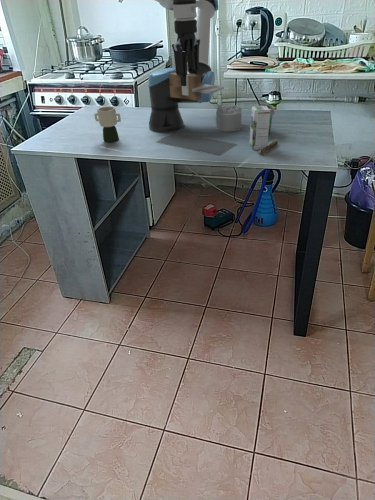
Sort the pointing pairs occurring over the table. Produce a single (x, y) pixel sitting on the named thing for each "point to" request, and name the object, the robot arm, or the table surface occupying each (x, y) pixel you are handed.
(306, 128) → the table surface
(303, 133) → the table surface
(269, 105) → the food container
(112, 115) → the trophy cup
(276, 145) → the bar
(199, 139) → the tool mat
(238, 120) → the grey rounded piece
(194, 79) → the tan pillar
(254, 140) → the syrup box
